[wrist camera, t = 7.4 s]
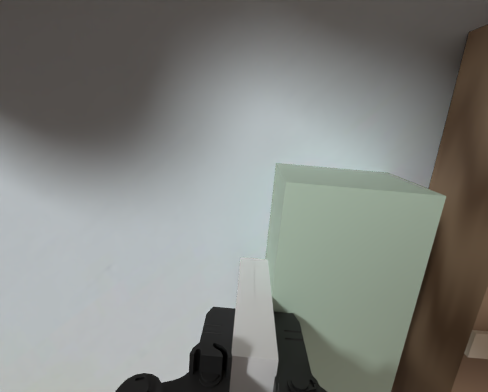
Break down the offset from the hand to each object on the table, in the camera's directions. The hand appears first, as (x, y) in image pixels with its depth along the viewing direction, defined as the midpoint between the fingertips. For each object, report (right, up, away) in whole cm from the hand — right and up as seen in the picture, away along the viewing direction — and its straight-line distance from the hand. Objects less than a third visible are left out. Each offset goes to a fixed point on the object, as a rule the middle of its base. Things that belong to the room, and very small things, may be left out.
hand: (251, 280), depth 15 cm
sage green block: (+4, 0, +2) cm, 4 cm away
